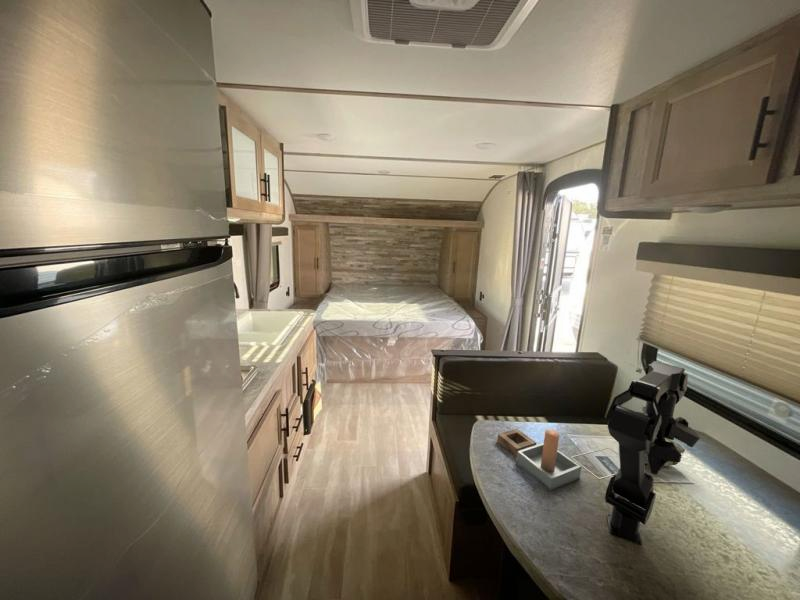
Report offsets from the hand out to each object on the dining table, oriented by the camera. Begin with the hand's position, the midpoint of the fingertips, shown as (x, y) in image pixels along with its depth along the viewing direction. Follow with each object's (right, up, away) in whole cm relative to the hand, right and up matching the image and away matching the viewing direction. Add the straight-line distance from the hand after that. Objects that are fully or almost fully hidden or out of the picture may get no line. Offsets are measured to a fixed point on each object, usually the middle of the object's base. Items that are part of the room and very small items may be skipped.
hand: (648, 462), depth 86 cm
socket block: (-26, -7, +26) cm, 38 cm away
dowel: (-21, -9, +14) cm, 27 cm away
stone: (+17, -10, +22) cm, 29 cm away
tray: (-21, -10, +15) cm, 27 cm away
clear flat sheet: (0, -10, +19) cm, 22 cm away
